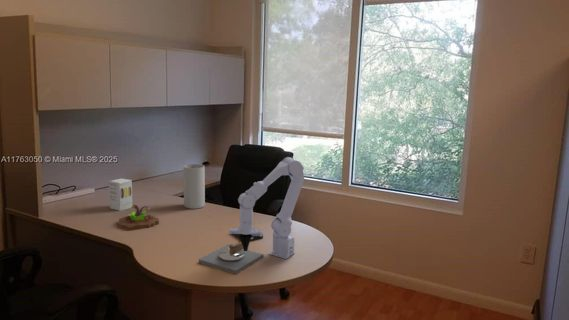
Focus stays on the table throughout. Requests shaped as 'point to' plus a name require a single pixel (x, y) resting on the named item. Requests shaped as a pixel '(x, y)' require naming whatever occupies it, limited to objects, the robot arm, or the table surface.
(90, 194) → the table surface
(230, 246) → the dial
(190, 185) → the cylinder vase
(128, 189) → the supplement box
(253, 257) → the dial panel
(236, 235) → the disk drive
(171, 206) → the table surface
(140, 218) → the plant
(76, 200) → the table surface
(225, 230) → the table surface
